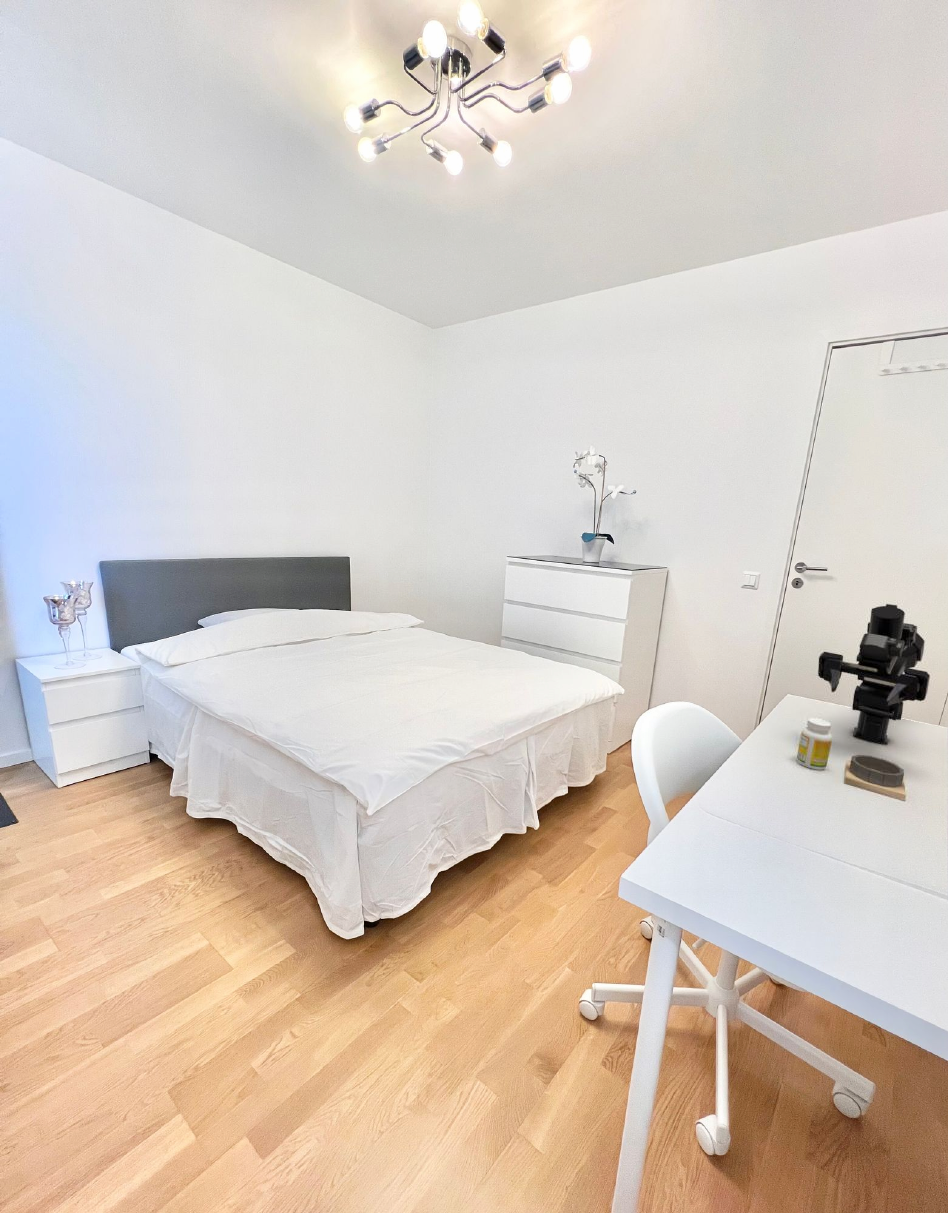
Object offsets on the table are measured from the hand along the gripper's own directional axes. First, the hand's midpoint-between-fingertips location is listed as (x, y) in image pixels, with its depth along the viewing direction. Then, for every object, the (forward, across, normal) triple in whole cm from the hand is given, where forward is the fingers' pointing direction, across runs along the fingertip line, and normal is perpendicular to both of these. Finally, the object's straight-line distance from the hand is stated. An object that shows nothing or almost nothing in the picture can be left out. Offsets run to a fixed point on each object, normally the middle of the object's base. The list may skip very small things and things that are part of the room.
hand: (858, 696), depth 105 cm
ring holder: (+9, +5, +13) cm, 17 cm away
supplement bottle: (+11, -5, +12) cm, 17 cm away
